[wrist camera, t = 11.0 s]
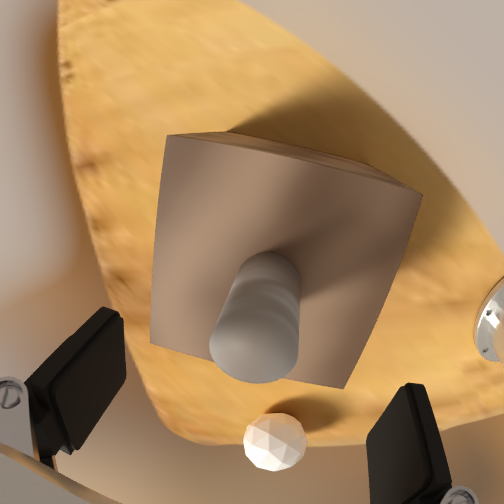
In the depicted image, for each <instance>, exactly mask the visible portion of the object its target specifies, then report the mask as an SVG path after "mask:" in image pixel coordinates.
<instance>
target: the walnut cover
mask: <svg viewBox="0 0 504 504" xmlns="http://www.w3.org/2000/svg"><path fill="white" fill-rule="evenodd" d="M422 196H423V195H422V194H420V193H419V192H417V191H415V190H413V189H412V188H410V187H408V186H407V185H405V184H403V183H401V182H400V181H398V180H396V179H394V178H392V177H391V176H389V175H387V174H385V173H383V172H382V171H380V170H378V169H376V168H374V167H372V166H370V165H368V164H364V163H361V162H357V161H354V160H350V159H347V158H343V157H339V156H336V155H332V154H328V153H324V152H320V151H316V150H312V149H308V148H304V147H299V146H295V145H291V144H286V143H282V142H277V141H272V140H267V139H263V138H258V137H252V136H247V135H242V134H236V133H231V132H206V133H189V134H176V135H167V138H166V145H165V152H164V159H163V166H162V174H161V182H160V190H159V199H158V209H157V219H156V230H155V242H154V255H153V271H152V290H151V317H150V343H152V344H155V345H158V346H161V347H164V348H167V349H171V350H174V351H177V352H181V353H184V354H187V355H191V356H194V357H198V358H201V359H205V360H209V361H212V362H215V363H216V365H217V366H218V367H219V368H220V369H221V370H222V371H223V372H225V373H226V374H228V375H229V376H231V377H233V378H235V379H237V380H240V381H243V382H248V383H256V384H259V383H269V382H273V381H276V380H278V379H281V378H284V379H289V380H294V381H299V382H305V383H310V384H315V385H321V386H327V387H333V388H339V389H344V387H345V385H346V383H347V381H348V379H349V377H350V375H351V374H352V372H353V370H354V368H355V366H356V364H357V362H358V360H359V358H360V356H361V353H362V351H363V349H364V347H365V345H366V343H367V341H368V339H369V337H370V334H371V332H372V330H373V328H374V326H375V323H376V321H377V319H378V317H379V314H380V312H381V310H382V307H383V305H384V303H385V300H386V298H387V295H388V293H389V291H390V288H391V286H392V283H393V280H394V278H395V275H396V273H397V270H398V268H399V265H400V262H401V259H402V257H403V254H404V251H405V248H406V246H407V243H408V240H409V237H410V234H411V231H412V228H413V225H414V222H415V219H416V216H417V213H418V209H419V206H420V203H421V199H422Z"/></svg>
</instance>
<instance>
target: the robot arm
mask: <svg viewBox="0 0 504 504" xmlns="http://www.w3.org/2000/svg"><path fill="white" fill-rule="evenodd" d="M474 343H475V345H476V348H477V350H478V351H479V353H480V355H481V356H482V357H484V358H485V359H487V360H489V361H494V362H498V361H500V362H501V363H502V365H503V367H504V278H503V279H502V280H501V281H500V282H499V283H498V284H497V285H496V286H495V287H494V288H493V289H492V290H491V292H490V293H489V295H488V296H487V298H486V299H485V301H484V302H483V304H482V306H481V308H480V310H479V313H478V315H477V318H476V322H475V326H474ZM125 379H126V362H125V345H124V322H123V318H121V317H120V314H119V312H117V311H115V310H112V309H109V308H106V307H101V308H100V309H99V310H98V311H97V312H96V313H95V314H94V315H92V316H91V317H90V319H88V320H87V321H86V322H85V323H84V324H83V325H82V326H81V327H80V328H79V329H78V330H77V331H76V332H75V333H74V334H73V335H71V336H70V337H69V338H68V339H66V340H65V341H64V342H63V343H62V344H61V345H60V346H59V347H58V348H57V349H56V350H55V351H54V352H53V353H52V354H51V355H50V356H49V357H48V358H47V359H46V360H45V361H44V362H43V364H41V366H40V367H39V368H38V369H37V370H36V371H35V372H34V373H33V374H32V375H31V376H30V377H29V378H28V379H27V380H26V381H25V382H24V383H23V382H22V381H21V380H19V379H17V378H14V377H2V378H0V504H122V503H119V502H117V501H114V500H112V499H110V498H108V497H106V496H104V495H101V494H99V493H97V492H95V491H93V490H91V489H89V488H87V487H85V486H83V485H81V484H79V483H77V482H75V481H73V480H71V479H70V478H68V477H66V476H64V475H62V474H61V473H59V472H58V468H57V464H56V459H55V455H56V454H57V452H58V451H59V450H62V451H64V452H65V453H67V454H69V455H71V454H72V452H73V451H74V449H75V450H79V449H80V448H81V446H82V445H83V444H84V442H85V440H86V439H87V437H88V436H89V434H90V433H91V431H92V430H93V428H94V427H95V425H96V424H97V422H98V421H99V419H100V418H101V416H102V415H103V413H104V412H105V410H106V409H107V407H108V406H109V404H110V403H111V401H112V400H113V398H114V397H115V395H116V394H117V392H118V391H119V390H120V388H121V387H122V385H123V384H124V382H125ZM366 447H367V459H368V471H369V486H370V487H369V488H370V504H479V503H478V499H477V497H476V495H475V494H474V492H473V491H471V490H470V489H469V488H467V487H464V486H456V487H453V488H452V485H451V483H452V480H451V475H450V471H449V467H448V463H447V459H446V455H445V452H444V448H443V444H442V441H441V437H440V434H439V430H438V427H437V423H436V420H435V417H434V414H433V410H432V407H431V404H430V401H429V398H428V395H427V392H426V389H425V387H424V385H423V384H416V383H407V384H405V386H401V387H400V388H399V390H398V391H397V393H396V394H395V396H394V397H393V399H392V400H391V402H390V403H389V405H388V406H387V408H386V409H385V411H384V412H383V414H382V415H381V417H380V418H379V420H378V421H377V422H376V424H375V425H374V427H373V428H372V429H371V431H370V432H369V434H368V436H367V439H366Z"/></svg>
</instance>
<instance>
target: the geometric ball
mask: <svg viewBox="0 0 504 504" xmlns="http://www.w3.org/2000/svg"><path fill="white" fill-rule="evenodd" d="M307 442H308V439H307V436H306V434H305V432H304V430H303V427H302V425H301V423H300V422H299V421H298V420H296V419H295V418H294V417H293V416H290V415H287V414H285V413H271V414H262V415H261V416H260V417H258V418H257V419H256V420H254V421H253V422H252V423H250V424H249V425H248V427H247V430H246V433H245V435H244V447H245V453H246V456H248V458H249V459H250V460H251V461H252V462H253V463H254V464H255V465H256V467H259V468H263V469H266V470H270V471H278V470H282V469H285V468H289V467H292V466H293V465H294V464H295V463H297V462H298V461H299V460H300V459H301V458H302V457H303V455H304V452H305V448H306V445H307Z"/></svg>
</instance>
